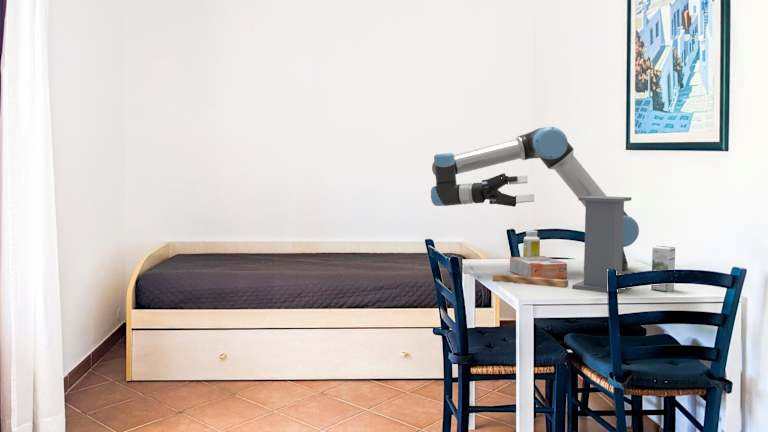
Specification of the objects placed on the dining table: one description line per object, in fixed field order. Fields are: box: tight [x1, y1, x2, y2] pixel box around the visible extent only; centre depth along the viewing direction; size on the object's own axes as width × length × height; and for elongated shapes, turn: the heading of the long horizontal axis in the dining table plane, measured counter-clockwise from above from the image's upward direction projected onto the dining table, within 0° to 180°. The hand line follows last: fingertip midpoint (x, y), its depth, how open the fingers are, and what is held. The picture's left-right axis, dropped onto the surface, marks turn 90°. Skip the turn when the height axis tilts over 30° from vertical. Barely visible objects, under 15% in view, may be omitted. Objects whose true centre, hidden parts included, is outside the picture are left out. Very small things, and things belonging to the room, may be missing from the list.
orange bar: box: [492, 273, 569, 289], centre depth 273 cm, size 26×4×2 cm, turn 59°
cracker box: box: [509, 255, 568, 279], centre depth 291 cm, size 14×6×21 cm
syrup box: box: [650, 245, 676, 293], centre depth 261 cm, size 6×6×14 cm
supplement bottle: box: [522, 229, 541, 257], centre depth 328 cm, size 7×7×13 cm
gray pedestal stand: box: [571, 195, 632, 294], centre depth 263 cm, size 16×14×30 cm
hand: (530, 188), depth 282 cm, fingers open, 13 cm apart
